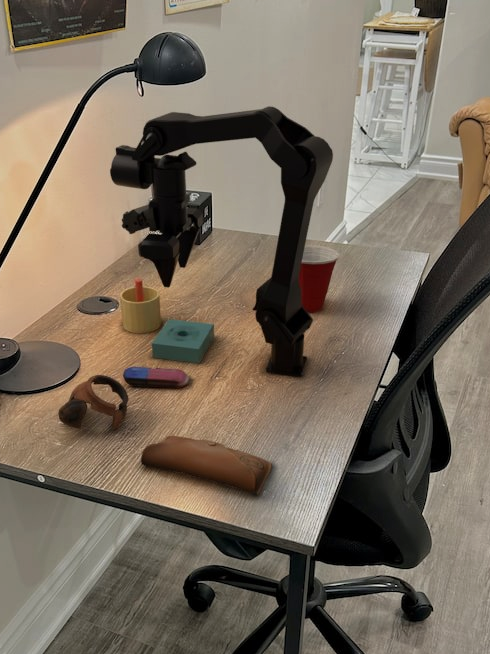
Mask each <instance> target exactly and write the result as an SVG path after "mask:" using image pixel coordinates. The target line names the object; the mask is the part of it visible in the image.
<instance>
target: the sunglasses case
mask: <svg viewBox="0 0 490 654" xmlns="http://www.w3.org/2000/svg"><path fill="white" fill-rule="evenodd" d="M140 463H141V465H142V466H144V467H148V468H152V469H158V470H163V471H170V472H171V473H178V474H183V475H186V476H190V477H194V478H196V479H200V480H206V481H209V482H212V483H216V484H219V485H222V486H223V485H224V486H227V487H231V488H233V489H234V488H235V489H238V490H242V491H245V492H249V493H252V494H253V493H254V494H256V495H259V494H260V493H261V491H262V489H263V487H264V485H265V484H266V482H267V480H268V477H269V475H270V473H271V471H272V468H273V464H272V463H271V462H270V461H268V460H266V459H265V458H262V457H259V456H256V455H254V454H251V453H249V452H245V451H241V450H238V449H235V448H230V447H228V446H226V445H225V444H223V443H220V442H216V441H212V440H208V439H195V438H191V437H185V436H178V435H169V436H167V437H165V438H164V439H163V440H161V441H159V442H157V443H151V444H148V445H146V446H145V447H144V449H143V450H142V453H141V456H140Z"/></svg>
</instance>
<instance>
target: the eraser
mask: <svg viewBox="0 0 490 654" xmlns="http://www.w3.org/2000/svg"><path fill="white" fill-rule="evenodd" d="M122 376H123V379H124V383H126V384H127V385H129V386H131V387H132V386H133V387H151V388H167V389H181V388H184V387H186V386H187V385H189V384H188V383H189V381H190V379H189V375H188V374H187V373H186V372H185V371H184V370H182V369H178V368H164V367H163V368H161V367H160V368H159V367H155V368H153V367H148V366H147V367H145V366H130V367H127V368H125V369H124V371H123V375H122Z"/></svg>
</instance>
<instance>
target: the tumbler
mask: <svg viewBox="0 0 490 654" xmlns="http://www.w3.org/2000/svg"><path fill="white" fill-rule="evenodd" d="M143 296H144V302H137V299H136V287H135V286H132V287H128V288H125V289H124V290H123V291H121V292H120V294H119V301H120V311H121V321H122V322H121V323H122V327H123V328H124V330H125V331H128V332H130V333H134V334H145V333H151V332H154V331H156V330H157V329H159V328H160V327H161V326H162V315H161V314H162V313H161V300H160V299H161V298H160V292H159V290H158V289H157V288H154V287H152V286H144V285H143Z"/></svg>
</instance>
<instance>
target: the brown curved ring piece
mask: <svg viewBox="0 0 490 654" xmlns="http://www.w3.org/2000/svg"><path fill="white" fill-rule="evenodd" d="M92 384H93V385H95V386H96V385H103V386H106V385H107V386H109V387H110V388H111V392H112V393H115V394H117V396H118V397H119V398H120V400H121V402H120V403H119V404H118V407H117V405H116V404H115V403H112V402H108V401H106V400H104V399H102V398H101V397H100V396H98V395H97V394H96V393H95V392H94V389H93V386H92ZM128 403H129V395H128V392H127V389H126V388H125V387H124V386H123V385H122V383H120V382H119V381H118V380H116V379H114V378H113V377H111V376H109V375H105V374H104V375H103V374H96V375H93V376H91V377H89V378H88V379H87V380H86V381H82V382H81V383H79V384H77V385H76V387H75V388H73V390H72V391H71V394H70V396H69V399H68V401H67V402H65V403H64V405H62V406H61V407H60V408H59V409H58V411H57V414H58V415H57V416H58V419H59V421H60V422H61V423H63V424H64V425H66V426H70V427H71V428H74V429H78V430H79V429H81V424H82V422H83V419H84V417H85V416H86V414H87V413H88V412H87V411H88V405H90V407H89V409H90V410H93V411H95V412H98V413H99V414H104V415H106V416H108V417H112V419H113V420H112V423H111V426H110V428H111V429H112V430H115V429H119V427H120V426H121V424H122V421H124V420H125V418H126V416H127V411H128Z"/></svg>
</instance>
